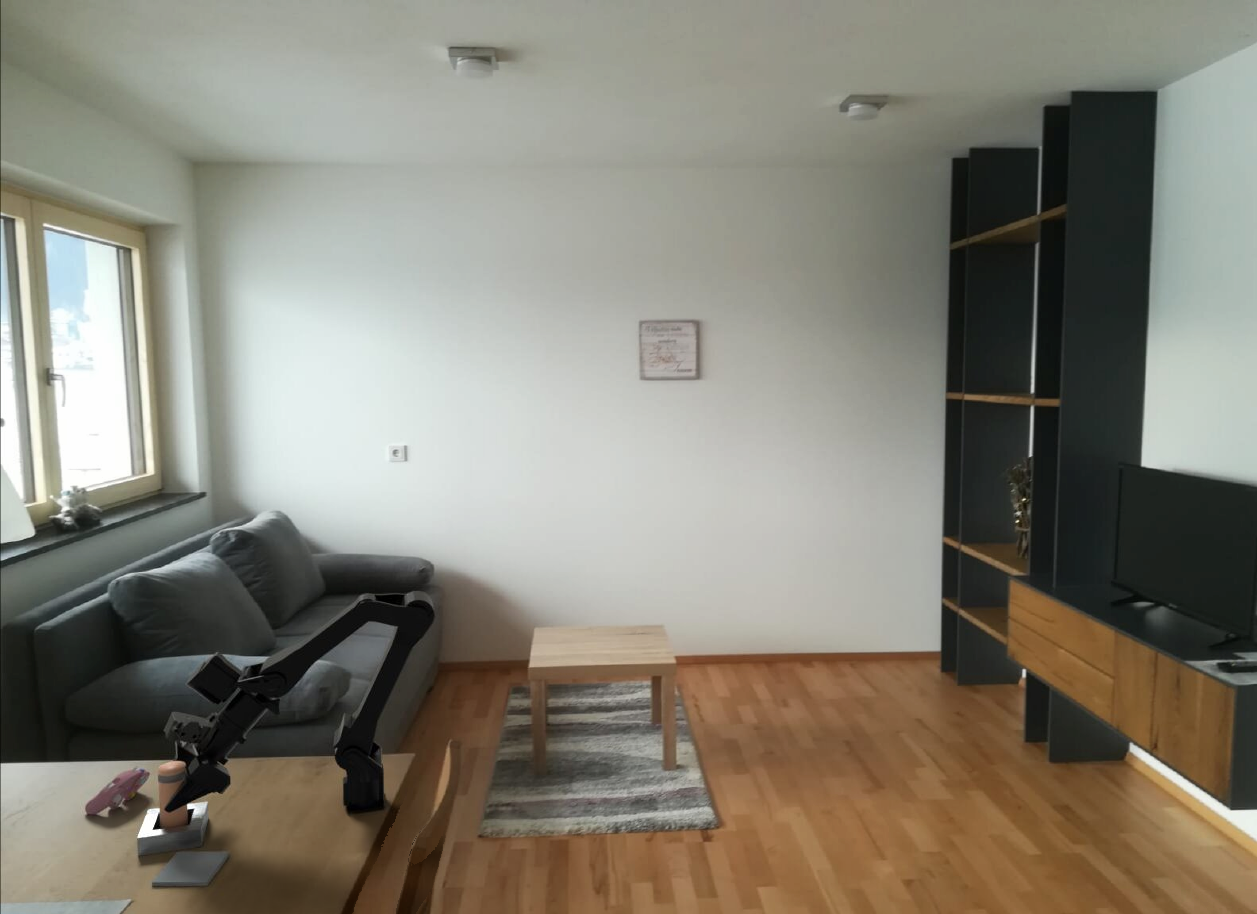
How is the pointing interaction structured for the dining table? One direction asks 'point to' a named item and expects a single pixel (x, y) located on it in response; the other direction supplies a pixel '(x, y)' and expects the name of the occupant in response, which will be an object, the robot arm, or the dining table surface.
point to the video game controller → (118, 790)
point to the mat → (190, 869)
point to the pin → (171, 794)
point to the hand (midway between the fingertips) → (163, 800)
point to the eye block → (172, 831)
